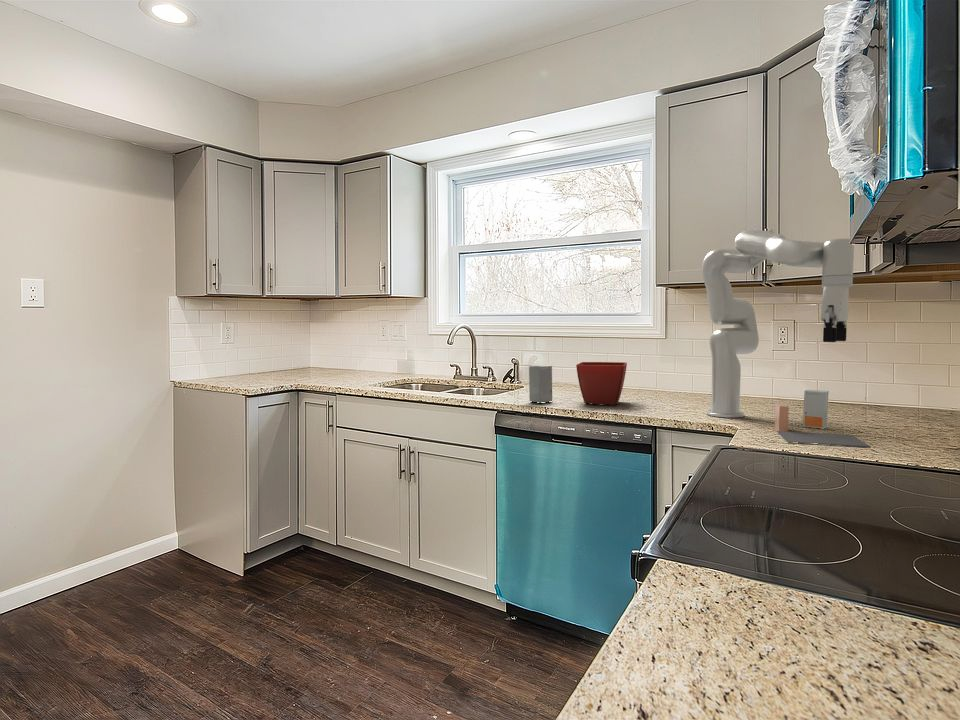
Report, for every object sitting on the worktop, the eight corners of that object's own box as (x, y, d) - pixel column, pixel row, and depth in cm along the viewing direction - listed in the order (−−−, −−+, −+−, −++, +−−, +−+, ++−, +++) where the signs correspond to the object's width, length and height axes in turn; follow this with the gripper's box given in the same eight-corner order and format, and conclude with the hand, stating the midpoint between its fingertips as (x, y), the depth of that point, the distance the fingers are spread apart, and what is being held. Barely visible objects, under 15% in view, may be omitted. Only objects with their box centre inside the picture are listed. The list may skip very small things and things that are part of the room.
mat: (777, 432, 174) (777, 431, 174) (851, 436, 167) (851, 434, 167) (787, 443, 158) (787, 441, 158) (870, 447, 152) (870, 446, 152)
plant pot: (581, 399, 248) (582, 361, 247) (626, 401, 242) (627, 362, 241) (575, 405, 230) (575, 364, 229) (623, 407, 224) (624, 365, 223)
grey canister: (540, 404, 234) (540, 366, 233) (527, 402, 239) (527, 365, 238) (553, 402, 239) (553, 365, 238) (540, 400, 245) (541, 364, 243)
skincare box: (802, 427, 182) (803, 390, 181) (806, 425, 185) (807, 389, 184) (823, 429, 177) (825, 392, 176) (827, 427, 180) (828, 390, 179)
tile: (774, 427, 181) (775, 402, 181) (783, 428, 181) (784, 403, 180) (778, 431, 175) (779, 406, 174) (787, 432, 174) (788, 406, 173)
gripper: (831, 284, 172) (829, 340, 173) (812, 281, 160) (810, 342, 161) (860, 283, 166) (857, 341, 167) (843, 280, 154) (840, 342, 156)
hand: (834, 341), depth 164 cm, fingers open, 9 cm apart
